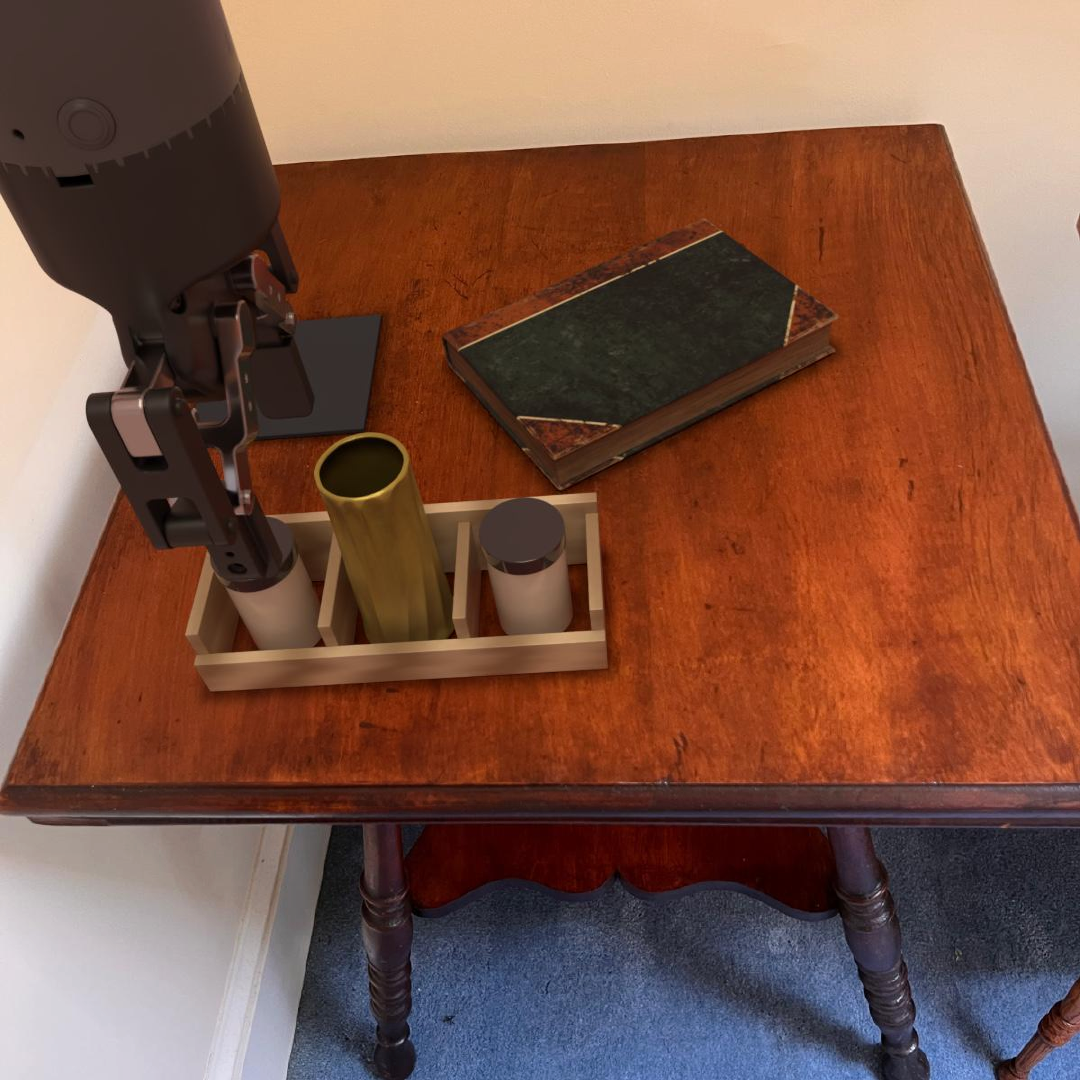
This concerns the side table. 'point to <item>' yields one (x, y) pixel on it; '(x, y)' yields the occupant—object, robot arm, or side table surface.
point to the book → (637, 349)
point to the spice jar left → (278, 599)
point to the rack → (402, 660)
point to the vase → (385, 539)
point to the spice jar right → (527, 566)
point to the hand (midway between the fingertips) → (274, 487)
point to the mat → (324, 379)
